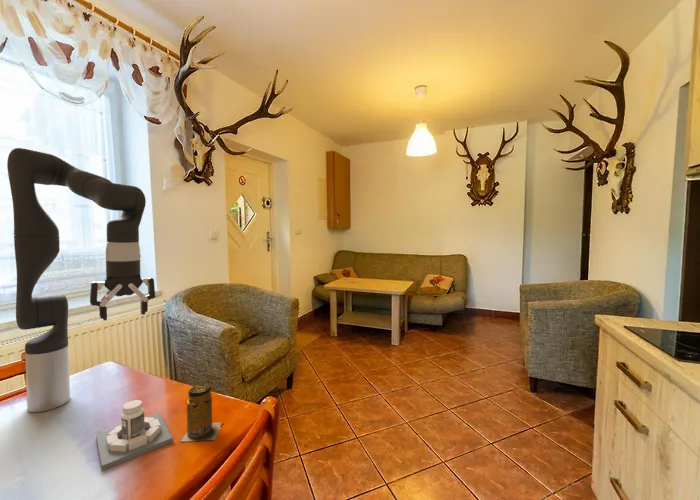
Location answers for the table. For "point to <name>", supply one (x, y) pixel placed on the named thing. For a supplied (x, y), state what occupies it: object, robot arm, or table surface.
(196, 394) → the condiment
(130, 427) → the pill bottle
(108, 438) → the socket board
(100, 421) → the table surface
